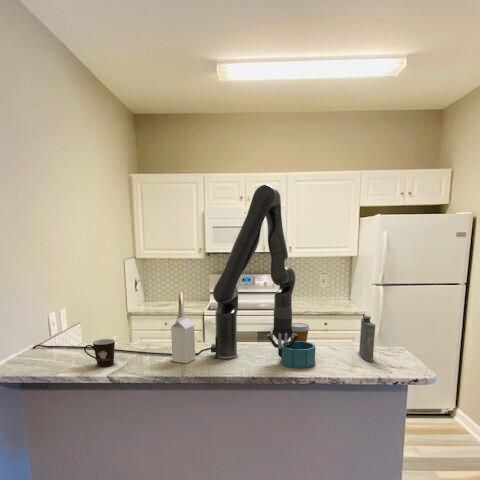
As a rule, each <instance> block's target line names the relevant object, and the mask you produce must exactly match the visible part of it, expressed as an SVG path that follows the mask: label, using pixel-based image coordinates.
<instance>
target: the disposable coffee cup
mask: <svg viewBox="0 0 480 480" xmlns="http://www.w3.org/2000/svg"><path fill="white" fill-rule="evenodd" d="M292 330H293V333H295V334H297V335H298V338H297V339H296V341H304V342H308V334H309V331H310V326H309V324H308V323H303V322H292ZM289 339H290V340H291V339H292V335H291V337H290V338H289Z"/></svg>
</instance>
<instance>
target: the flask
mask: <svg viewBox="0 0 480 480" xmlns="http://www.w3.org/2000/svg"><path fill="white" fill-rule="evenodd" d="M371 319H372V316H369V315H364V316H362V317H361V319H360V333H359V334H360V335H359V349H358V354H359V356H360V357H361V359H363V360H364V361H366V362H368V363H369V362H371V363H372V362H373V361H374V351H375V350H374V349H375V348H374V347H375V336H376V335H375V334H376V324H375V323H373V322H372V321H371Z"/></svg>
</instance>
